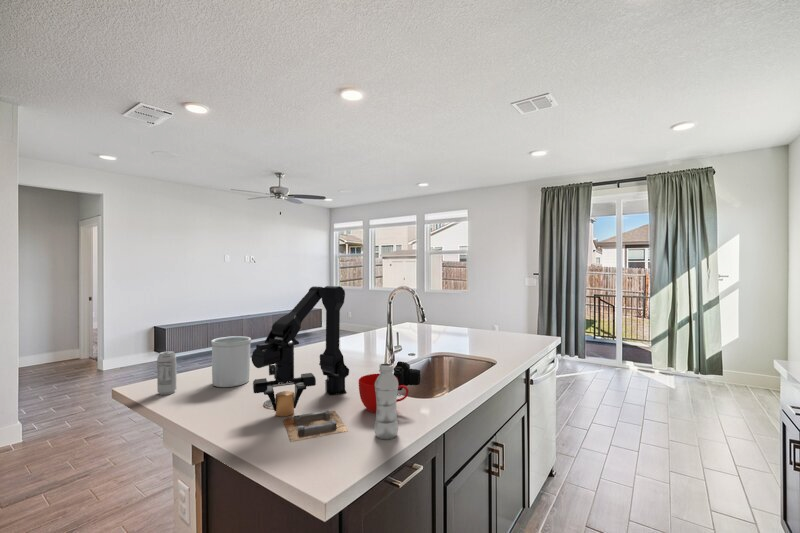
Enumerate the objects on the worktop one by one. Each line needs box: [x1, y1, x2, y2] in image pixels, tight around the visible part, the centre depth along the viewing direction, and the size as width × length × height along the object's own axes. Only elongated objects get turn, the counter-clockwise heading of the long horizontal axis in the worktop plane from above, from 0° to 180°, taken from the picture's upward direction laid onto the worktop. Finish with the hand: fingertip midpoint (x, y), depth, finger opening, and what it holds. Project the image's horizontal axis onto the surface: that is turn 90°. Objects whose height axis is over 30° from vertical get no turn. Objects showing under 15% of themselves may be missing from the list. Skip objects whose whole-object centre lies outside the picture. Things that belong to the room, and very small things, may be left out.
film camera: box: [393, 360, 421, 391], centre depth 147 cm, size 15×10×9 cm, turn 168°
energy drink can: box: [156, 350, 177, 396], centre depth 139 cm, size 6×6×15 cm
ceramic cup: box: [358, 373, 409, 414], centre depth 122 cm, size 13×17×10 cm
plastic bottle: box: [373, 362, 399, 440], centre depth 103 cm, size 6×7×20 cm
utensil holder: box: [210, 335, 252, 388], centre depth 152 cm, size 15×15×18 cm
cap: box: [275, 390, 295, 417], centre depth 119 cm, size 6×6×6 cm
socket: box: [283, 410, 349, 443], centre depth 110 cm, size 16×16×2 cm
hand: (284, 409), depth 119 cm, fingers closed on cap, 6 cm apart
